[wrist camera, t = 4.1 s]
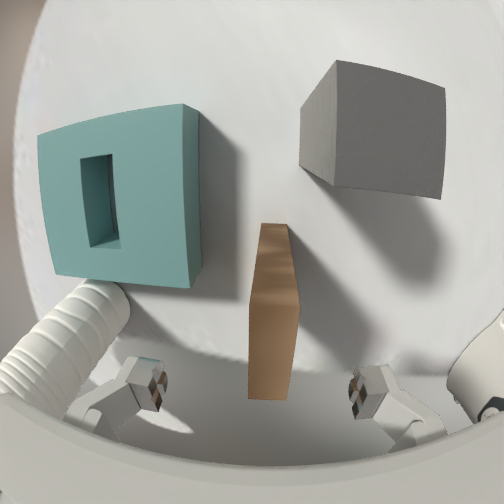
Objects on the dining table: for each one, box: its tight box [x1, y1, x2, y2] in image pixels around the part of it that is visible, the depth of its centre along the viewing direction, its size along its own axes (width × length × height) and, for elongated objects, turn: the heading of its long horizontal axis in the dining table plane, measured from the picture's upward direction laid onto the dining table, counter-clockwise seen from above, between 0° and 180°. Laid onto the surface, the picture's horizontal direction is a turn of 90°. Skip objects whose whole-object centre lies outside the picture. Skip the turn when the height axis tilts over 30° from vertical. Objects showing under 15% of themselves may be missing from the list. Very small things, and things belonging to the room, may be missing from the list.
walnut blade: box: [248, 223, 300, 400], centre depth 17 cm, size 2×6×12 cm, turn 178°
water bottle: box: [0, 279, 130, 419], centre depth 15 cm, size 9×6×25 cm
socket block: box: [38, 104, 202, 289], centre depth 20 cm, size 14×13×4 cm
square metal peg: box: [299, 60, 446, 200], centre depth 13 cm, size 4×4×12 cm
